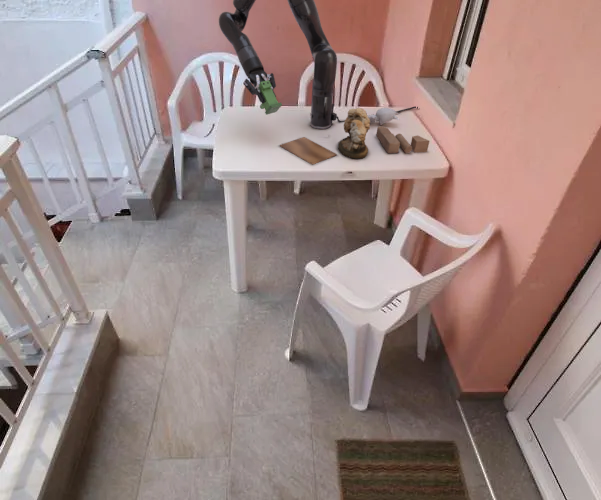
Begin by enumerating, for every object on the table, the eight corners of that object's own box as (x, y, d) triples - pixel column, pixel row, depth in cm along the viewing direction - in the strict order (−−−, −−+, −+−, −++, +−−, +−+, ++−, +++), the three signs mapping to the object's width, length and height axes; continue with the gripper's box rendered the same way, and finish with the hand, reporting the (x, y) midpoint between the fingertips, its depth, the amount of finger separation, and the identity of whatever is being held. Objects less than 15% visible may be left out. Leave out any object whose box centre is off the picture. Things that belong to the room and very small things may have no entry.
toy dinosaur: (255, 109, 168) (254, 79, 161) (265, 106, 171) (264, 77, 163) (272, 118, 162) (271, 87, 154) (282, 115, 164) (282, 85, 157)
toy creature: (358, 109, 195) (402, 107, 191) (358, 125, 198) (401, 123, 193) (355, 109, 184) (401, 107, 179) (355, 126, 186) (401, 124, 181)
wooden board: (304, 138, 176) (304, 136, 176) (336, 155, 165) (336, 154, 164) (280, 146, 170) (280, 144, 169) (312, 164, 158) (312, 163, 158)
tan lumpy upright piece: (333, 140, 175) (336, 100, 164) (359, 139, 177) (364, 99, 166) (344, 160, 162) (348, 117, 151) (373, 158, 163) (379, 116, 153)
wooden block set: (390, 141, 163) (377, 123, 176) (388, 155, 166) (375, 136, 180) (431, 140, 165) (414, 122, 179) (428, 153, 169) (412, 134, 182)
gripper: (238, 58, 155) (258, 100, 156) (268, 52, 163) (287, 92, 163) (231, 70, 162) (251, 109, 163) (261, 64, 169) (279, 102, 170)
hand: (269, 100), depth 163 cm, fingers closed on toy dinosaur, 4 cm apart
